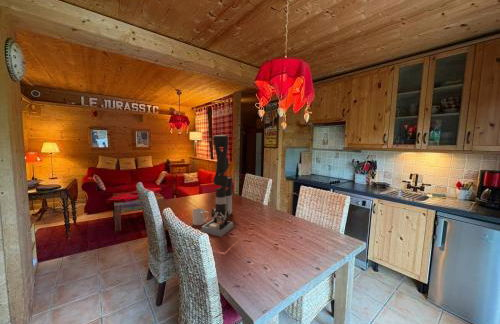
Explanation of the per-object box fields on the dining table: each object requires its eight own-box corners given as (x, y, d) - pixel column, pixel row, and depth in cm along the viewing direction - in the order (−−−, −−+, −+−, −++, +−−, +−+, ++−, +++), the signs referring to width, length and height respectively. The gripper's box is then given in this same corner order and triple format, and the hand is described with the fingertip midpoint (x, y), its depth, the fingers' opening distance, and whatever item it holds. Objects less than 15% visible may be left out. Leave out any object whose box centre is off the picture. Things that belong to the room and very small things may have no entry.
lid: (213, 223, 148) (213, 222, 148) (219, 224, 146) (219, 223, 146) (209, 225, 143) (209, 225, 143) (215, 227, 141) (215, 226, 141)
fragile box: (213, 229, 148) (213, 223, 148) (219, 231, 146) (219, 224, 146) (209, 232, 143) (209, 225, 143) (215, 234, 142) (215, 227, 141)
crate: (215, 224, 160) (215, 218, 159) (233, 228, 154) (233, 222, 153) (201, 233, 144) (201, 226, 144) (221, 238, 138) (221, 230, 138)
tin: (219, 225, 156) (219, 215, 155) (225, 227, 154) (225, 216, 153) (215, 228, 151) (215, 217, 150) (221, 229, 149) (221, 219, 148)
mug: (192, 226, 155) (192, 212, 154) (192, 222, 164) (192, 208, 163) (208, 225, 158) (208, 211, 157) (208, 221, 167) (208, 207, 166)
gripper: (231, 202, 151) (231, 223, 152) (215, 199, 157) (215, 220, 158) (226, 205, 144) (226, 227, 146) (209, 202, 150) (209, 223, 151)
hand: (220, 223), depth 152 cm, fingers open, 8 cm apart
